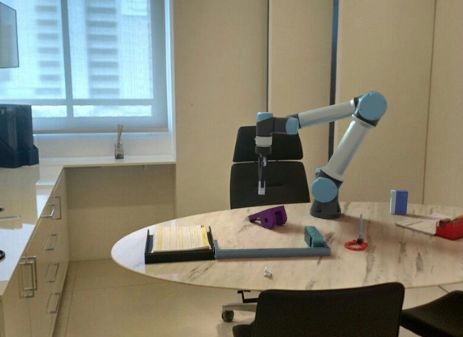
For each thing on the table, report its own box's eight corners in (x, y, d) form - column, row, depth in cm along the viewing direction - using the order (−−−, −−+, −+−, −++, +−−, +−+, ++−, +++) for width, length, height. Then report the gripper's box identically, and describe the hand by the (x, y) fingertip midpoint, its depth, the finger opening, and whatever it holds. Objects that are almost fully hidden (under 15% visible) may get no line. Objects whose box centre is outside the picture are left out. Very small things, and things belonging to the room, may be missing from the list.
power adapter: (264, 274, 166) (264, 265, 166) (272, 275, 165) (272, 266, 165) (262, 277, 163) (263, 268, 163) (270, 278, 163) (270, 269, 162)
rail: (313, 235, 207) (314, 221, 206) (330, 256, 183) (330, 240, 182) (211, 237, 203) (211, 223, 201) (215, 258, 179) (215, 243, 178)
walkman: (404, 212, 243) (406, 189, 241) (406, 214, 240) (408, 190, 238) (388, 212, 243) (390, 189, 241) (390, 214, 241) (392, 190, 238)
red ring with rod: (359, 253, 187) (370, 246, 194) (360, 221, 184) (371, 215, 191) (340, 248, 193) (351, 241, 199) (341, 217, 190) (352, 211, 197)
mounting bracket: (249, 234, 225) (274, 227, 211) (244, 217, 226) (268, 208, 213) (263, 230, 231) (289, 223, 217) (258, 213, 232) (283, 204, 219)
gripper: (253, 143, 233) (252, 190, 237) (257, 147, 220) (255, 197, 225) (269, 143, 234) (267, 190, 238) (273, 147, 221) (271, 197, 225)
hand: (261, 194), depth 231 cm, fingers closed
